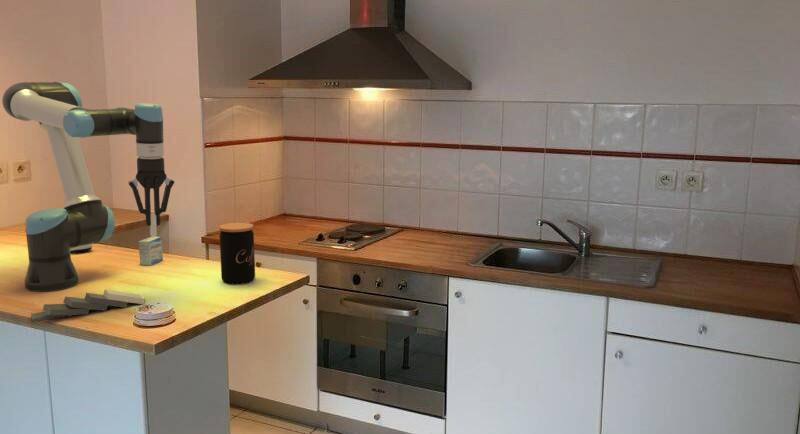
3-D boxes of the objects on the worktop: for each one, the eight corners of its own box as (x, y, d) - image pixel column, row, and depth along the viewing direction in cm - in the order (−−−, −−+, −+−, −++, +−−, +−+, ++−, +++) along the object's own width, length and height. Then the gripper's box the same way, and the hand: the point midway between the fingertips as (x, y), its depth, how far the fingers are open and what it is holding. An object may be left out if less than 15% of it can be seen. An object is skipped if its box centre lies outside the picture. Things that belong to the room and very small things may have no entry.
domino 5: (143, 304, 200) (107, 299, 194) (138, 299, 204) (103, 294, 198) (144, 298, 200) (109, 293, 194) (139, 294, 204) (104, 289, 198)
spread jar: (95, 251, 261) (93, 221, 258) (64, 257, 252) (62, 225, 250) (82, 246, 269) (79, 216, 266) (51, 251, 260) (48, 221, 258)
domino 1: (73, 318, 190) (32, 324, 185) (71, 312, 194) (31, 319, 189) (73, 312, 190) (32, 319, 185) (71, 307, 194) (31, 313, 189)
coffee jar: (238, 287, 217) (236, 230, 214) (214, 281, 223) (211, 226, 219) (262, 279, 226) (260, 224, 222) (238, 274, 231) (236, 221, 228)
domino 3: (106, 310, 194) (70, 307, 187) (98, 305, 197) (63, 301, 190) (107, 305, 194) (72, 301, 187) (100, 300, 197) (65, 296, 190)
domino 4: (125, 307, 197) (89, 302, 191) (120, 303, 201) (84, 298, 195) (127, 302, 197) (90, 296, 191) (121, 297, 201) (86, 292, 195)
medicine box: (151, 265, 241) (149, 241, 240) (139, 265, 242) (137, 241, 240) (163, 260, 249) (161, 236, 247) (151, 259, 250) (150, 236, 248)
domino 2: (88, 314, 191) (49, 315, 184) (80, 308, 194) (43, 310, 187) (88, 308, 191) (50, 309, 184) (81, 303, 194) (43, 304, 187)
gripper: (128, 159, 196) (132, 240, 201) (176, 158, 203) (178, 236, 208) (125, 156, 203) (128, 234, 208) (171, 154, 209) (173, 231, 214)
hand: (153, 235), depth 208 cm, fingers closed
